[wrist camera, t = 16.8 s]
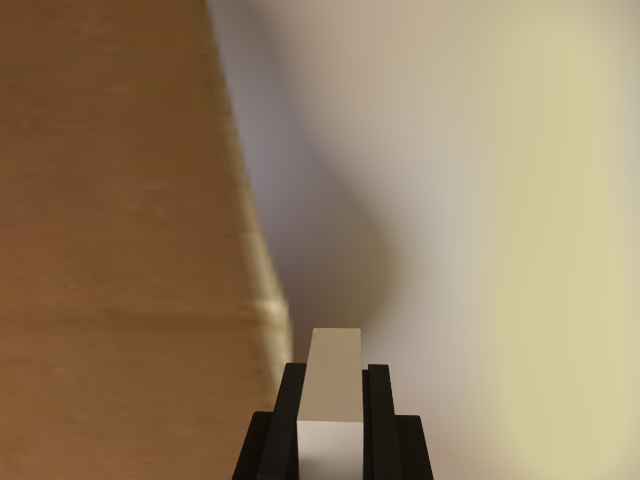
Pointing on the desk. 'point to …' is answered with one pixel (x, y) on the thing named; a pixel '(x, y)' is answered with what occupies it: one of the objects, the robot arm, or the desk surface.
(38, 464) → the desk surface
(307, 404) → the eraser
